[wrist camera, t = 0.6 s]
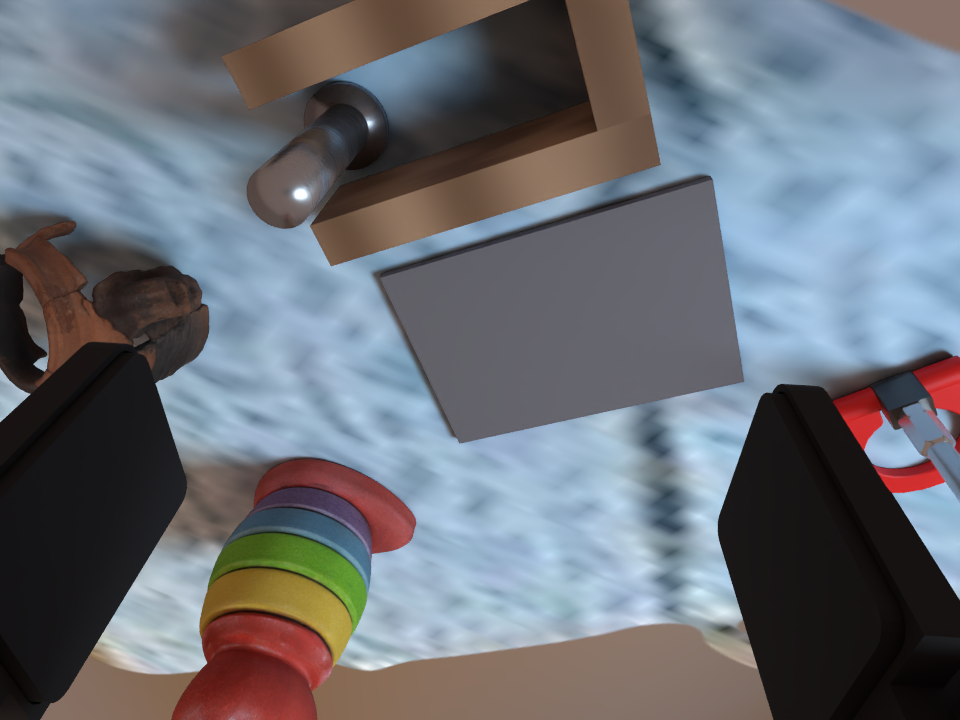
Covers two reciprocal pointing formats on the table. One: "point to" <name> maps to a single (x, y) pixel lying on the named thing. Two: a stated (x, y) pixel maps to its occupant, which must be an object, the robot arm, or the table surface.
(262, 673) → the stacking bear
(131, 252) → the table surface
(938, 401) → the tow hook
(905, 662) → the robot arm
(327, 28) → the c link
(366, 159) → the post
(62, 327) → the pottery mug
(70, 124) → the table surface
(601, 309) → the mat
